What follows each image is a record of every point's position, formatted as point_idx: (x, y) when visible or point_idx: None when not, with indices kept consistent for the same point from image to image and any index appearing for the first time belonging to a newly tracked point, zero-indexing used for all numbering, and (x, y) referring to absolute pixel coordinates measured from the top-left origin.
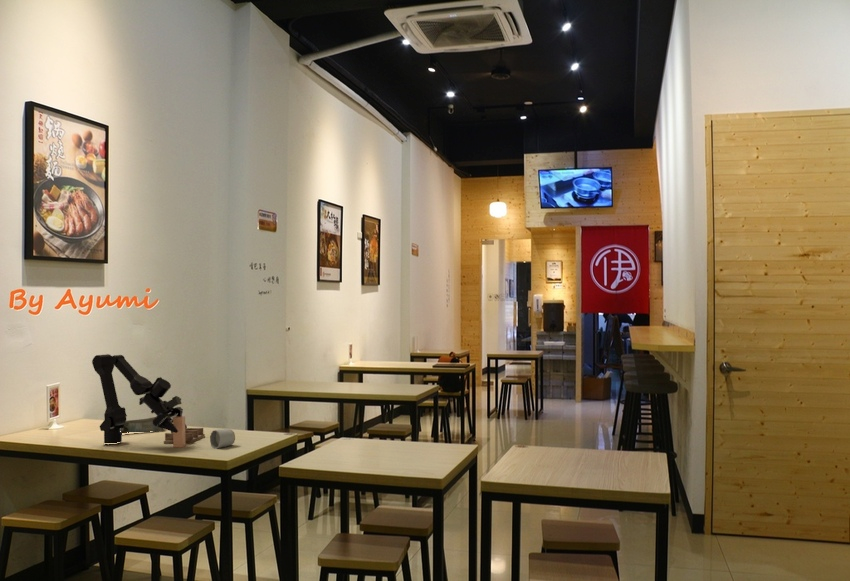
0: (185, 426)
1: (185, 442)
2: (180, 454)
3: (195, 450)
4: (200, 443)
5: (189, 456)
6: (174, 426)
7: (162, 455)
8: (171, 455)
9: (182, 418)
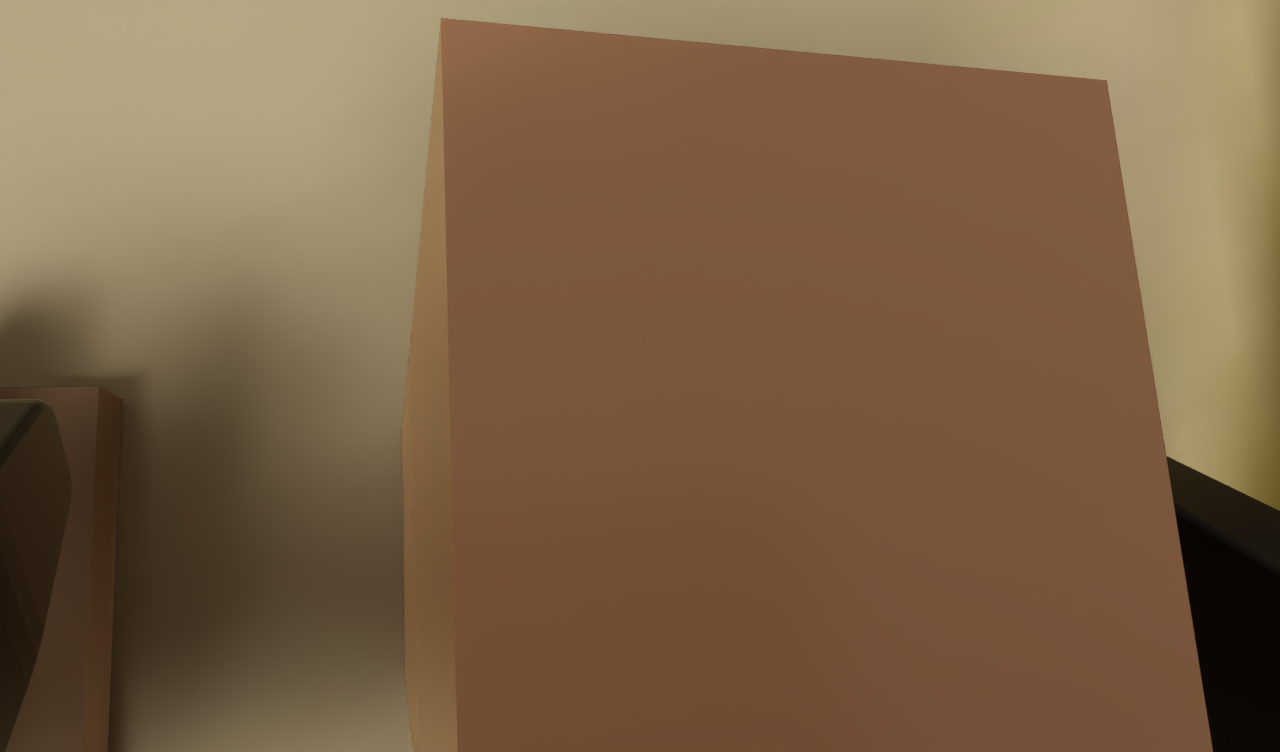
0: (34, 455)
1: (104, 551)
2: (1166, 195)
3: (857, 37)
4: (85, 156)
5: (1254, 2)
6: (1200, 497)
7: (1275, 485)
8: (1248, 321)
9: (1013, 114)
